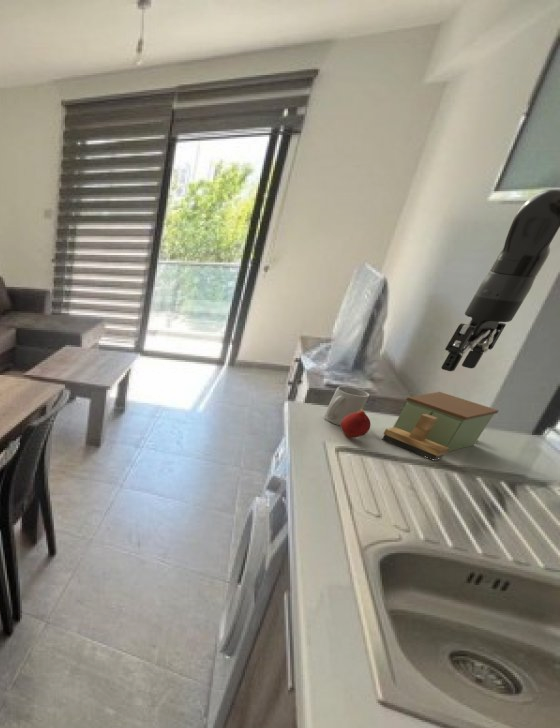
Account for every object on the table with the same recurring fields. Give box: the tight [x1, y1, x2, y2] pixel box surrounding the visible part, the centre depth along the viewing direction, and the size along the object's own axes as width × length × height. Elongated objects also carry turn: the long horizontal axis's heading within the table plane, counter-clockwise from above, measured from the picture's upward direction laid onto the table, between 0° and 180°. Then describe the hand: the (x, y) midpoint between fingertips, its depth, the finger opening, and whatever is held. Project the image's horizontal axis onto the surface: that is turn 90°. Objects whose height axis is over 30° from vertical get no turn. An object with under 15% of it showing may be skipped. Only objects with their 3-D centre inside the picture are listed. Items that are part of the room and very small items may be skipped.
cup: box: [323, 385, 370, 426], centre depth 131 cm, size 7×10×9 cm
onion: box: [340, 409, 372, 439], centre depth 122 cm, size 6×6×8 cm
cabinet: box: [393, 391, 499, 452], centre depth 124 cm, size 13×15×10 cm
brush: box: [381, 414, 450, 460], centre depth 118 cm, size 12×4×9 cm, turn 22°
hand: (457, 368), depth 110 cm, fingers open, 8 cm apart
